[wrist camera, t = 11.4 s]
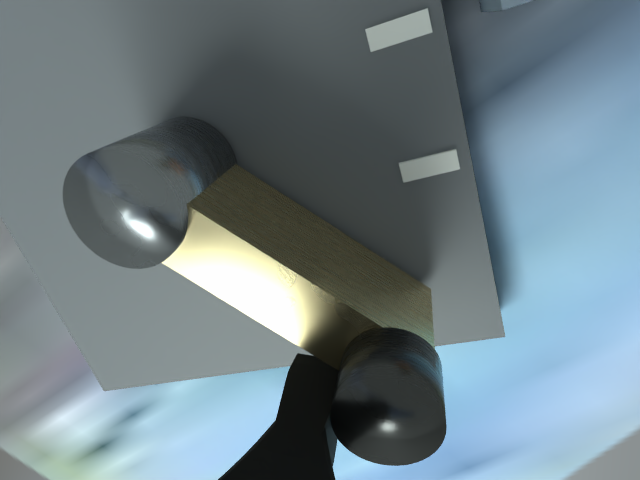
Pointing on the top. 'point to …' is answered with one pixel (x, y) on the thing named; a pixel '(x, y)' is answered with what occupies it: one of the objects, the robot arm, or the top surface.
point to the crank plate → (241, 158)
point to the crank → (271, 275)
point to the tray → (500, 4)
